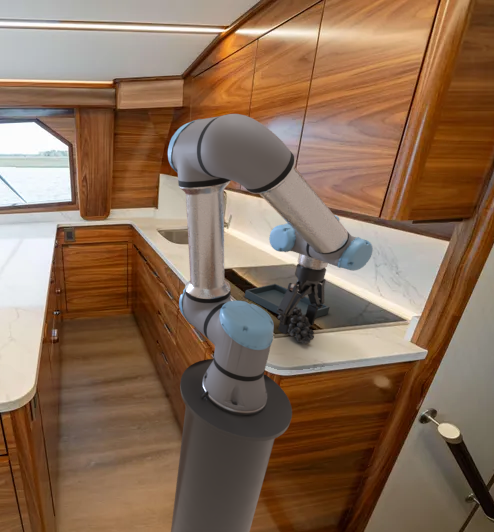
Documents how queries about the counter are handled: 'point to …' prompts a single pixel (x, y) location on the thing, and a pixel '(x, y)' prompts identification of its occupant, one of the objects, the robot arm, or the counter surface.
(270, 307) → the tray
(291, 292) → the robot arm
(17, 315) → the counter surface
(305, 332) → the fruit
